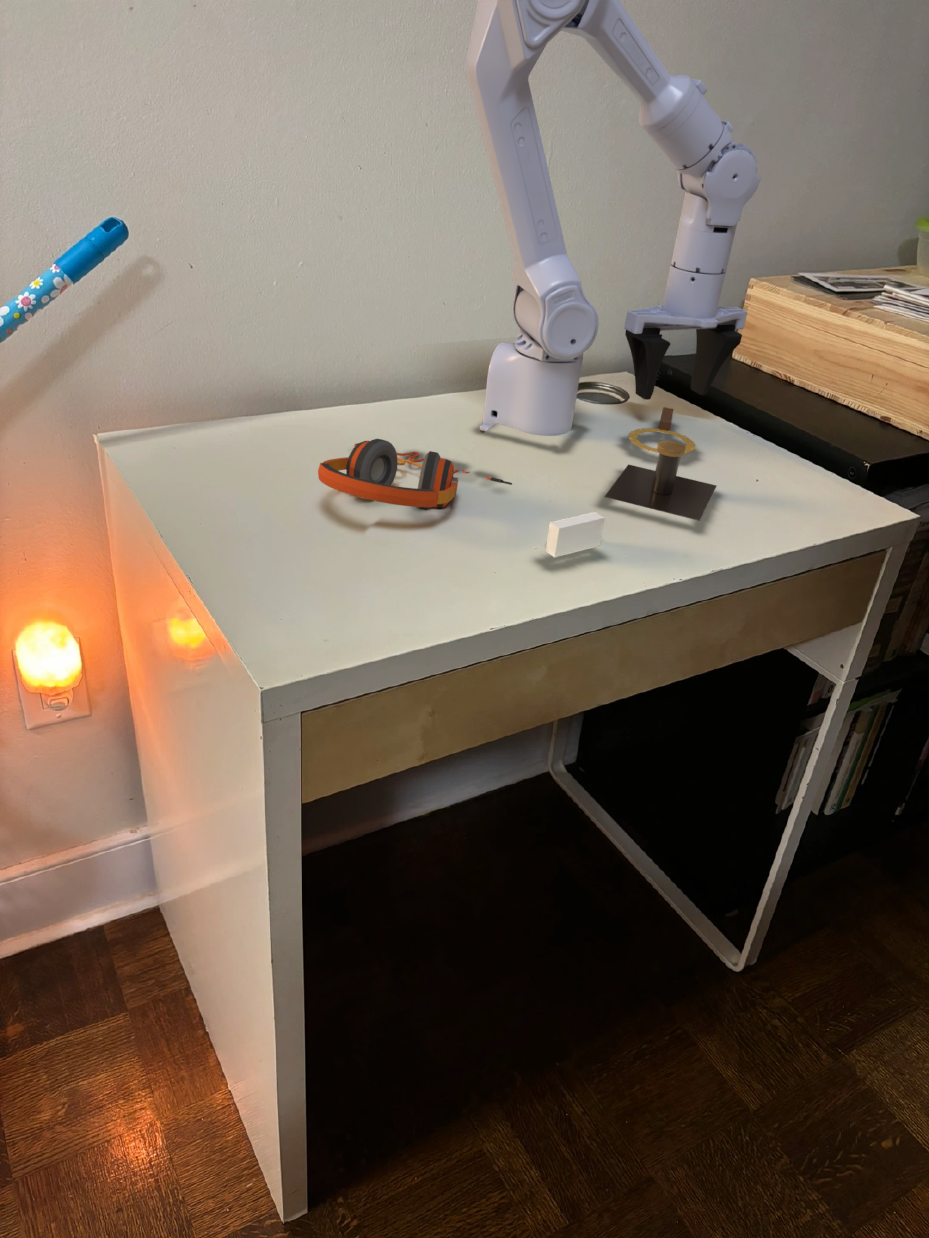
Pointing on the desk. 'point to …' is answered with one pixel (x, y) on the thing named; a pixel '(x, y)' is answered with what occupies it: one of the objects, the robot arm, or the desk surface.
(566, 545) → the eraser
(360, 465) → the headphones
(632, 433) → the ring
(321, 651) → the desk surface
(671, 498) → the stand
